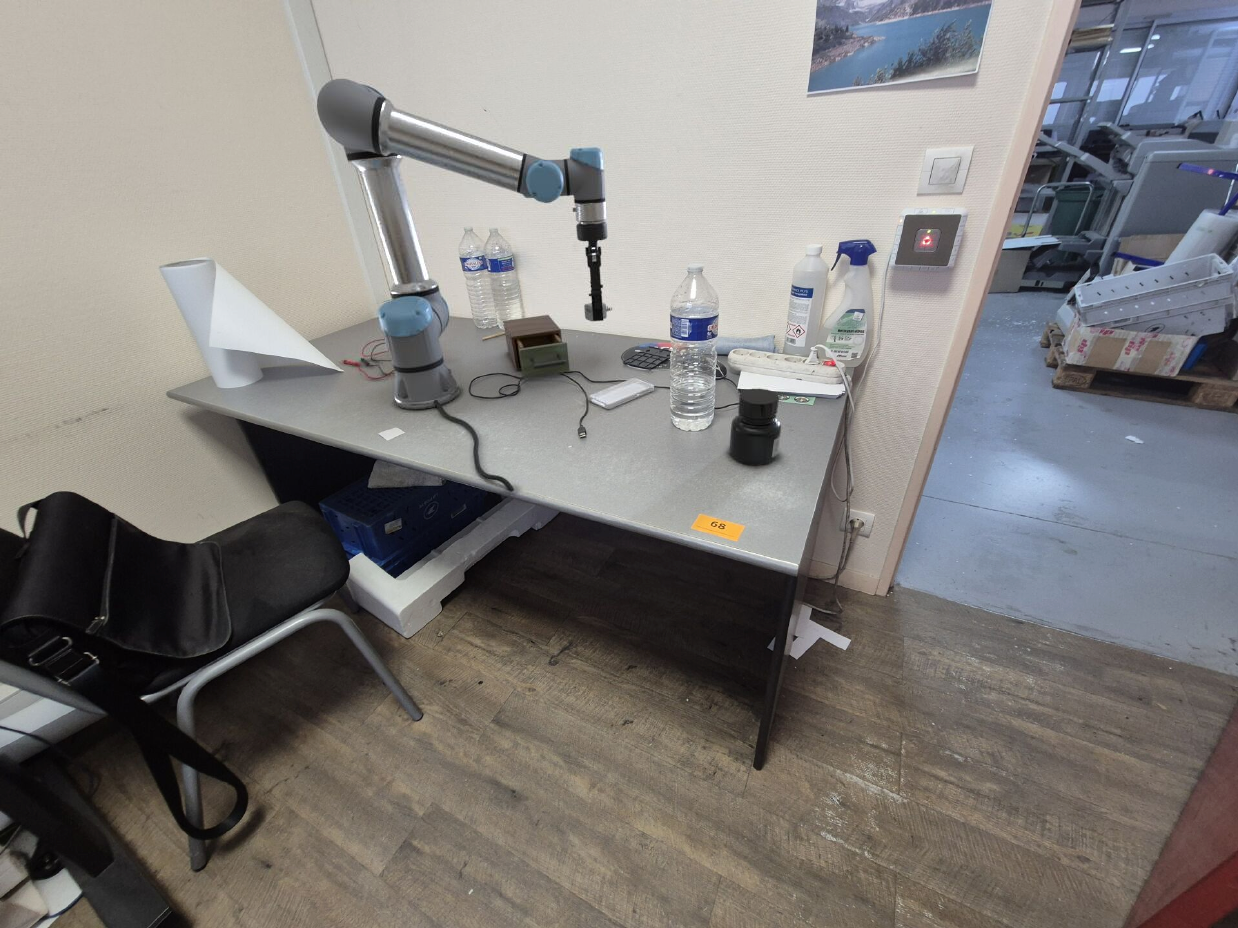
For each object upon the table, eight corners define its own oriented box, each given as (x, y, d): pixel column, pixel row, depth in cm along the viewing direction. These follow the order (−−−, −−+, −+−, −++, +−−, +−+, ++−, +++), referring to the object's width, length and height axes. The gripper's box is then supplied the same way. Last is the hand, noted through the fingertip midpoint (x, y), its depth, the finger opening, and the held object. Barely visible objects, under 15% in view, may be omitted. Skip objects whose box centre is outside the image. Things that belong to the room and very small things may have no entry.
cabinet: (564, 363, 142) (560, 329, 137) (516, 370, 139) (511, 336, 134) (552, 345, 156) (548, 314, 151) (508, 352, 153) (503, 321, 147)
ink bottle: (786, 463, 92) (795, 404, 86) (741, 470, 91) (747, 411, 85) (763, 438, 100) (769, 382, 94) (721, 445, 99) (725, 388, 93)
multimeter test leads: (412, 330, 162) (442, 347, 145) (416, 343, 165) (446, 362, 148) (335, 347, 150) (358, 369, 133) (340, 362, 153) (363, 384, 136)
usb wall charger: (585, 319, 135) (584, 303, 133) (606, 314, 139) (605, 299, 136) (593, 322, 132) (592, 306, 130) (614, 317, 136) (613, 301, 134)
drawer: (576, 379, 129) (573, 350, 125) (528, 388, 126) (523, 358, 122) (557, 353, 147) (554, 327, 143) (515, 360, 144) (510, 333, 140)
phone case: (634, 382, 128) (588, 400, 120) (634, 377, 127) (588, 395, 119) (654, 390, 123) (608, 410, 115) (654, 385, 122) (608, 404, 114)
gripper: (576, 218, 130) (583, 309, 143) (575, 228, 114) (584, 328, 127) (605, 217, 131) (610, 307, 143) (608, 226, 115) (613, 326, 127)
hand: (597, 317), depth 135 cm, fingers closed on usb wall charger, 6 cm apart
